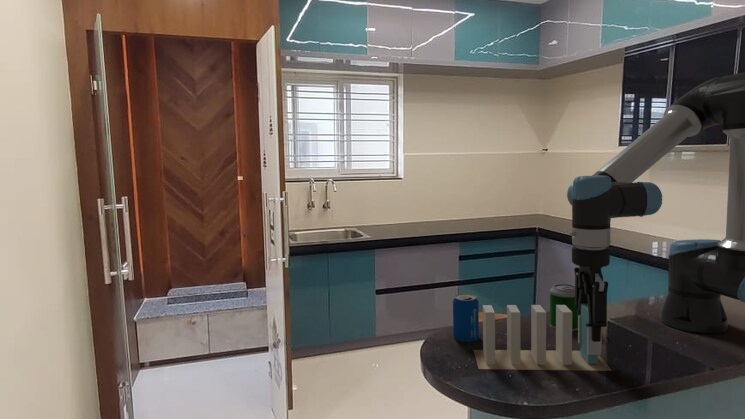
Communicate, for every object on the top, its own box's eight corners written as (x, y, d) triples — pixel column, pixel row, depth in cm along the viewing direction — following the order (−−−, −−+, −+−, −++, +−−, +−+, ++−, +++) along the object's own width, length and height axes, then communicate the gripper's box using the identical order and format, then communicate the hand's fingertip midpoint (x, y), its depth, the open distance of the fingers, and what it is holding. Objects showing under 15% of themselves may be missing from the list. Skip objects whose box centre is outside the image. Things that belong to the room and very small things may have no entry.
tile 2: (564, 355, 105) (565, 304, 104) (571, 364, 100) (572, 312, 99) (555, 354, 105) (556, 304, 104) (562, 364, 100) (562, 312, 99)
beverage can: (464, 348, 114) (463, 302, 112) (448, 340, 119) (447, 295, 118) (484, 342, 116) (483, 297, 115) (468, 334, 122) (467, 291, 121)
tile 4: (516, 354, 106) (515, 305, 105) (520, 364, 101) (520, 312, 100) (507, 354, 106) (506, 305, 105) (511, 364, 101) (510, 312, 100)
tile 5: (491, 354, 107) (491, 305, 105) (495, 364, 102) (494, 312, 100) (483, 354, 107) (482, 305, 106) (486, 363, 102) (485, 312, 101)
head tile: (589, 354, 104) (590, 303, 103) (597, 363, 99) (598, 310, 98) (580, 354, 104) (580, 303, 103) (588, 363, 100) (588, 311, 98)
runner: (594, 355, 107) (594, 350, 107) (612, 375, 97) (612, 370, 97) (473, 354, 110) (473, 349, 110) (478, 374, 100) (478, 368, 100)
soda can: (583, 336, 118) (583, 291, 117) (552, 334, 120) (552, 290, 118) (576, 325, 126) (576, 283, 124) (547, 324, 127) (547, 282, 126)
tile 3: (540, 354, 106) (540, 304, 104) (546, 364, 101) (546, 312, 99) (531, 354, 106) (531, 304, 104) (536, 364, 101) (536, 312, 99)
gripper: (560, 239, 108) (559, 332, 111) (587, 255, 90) (586, 366, 93) (593, 238, 108) (591, 332, 110) (627, 255, 90) (624, 367, 92)
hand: (589, 348), depth 102 cm, fingers open, 5 cm apart
